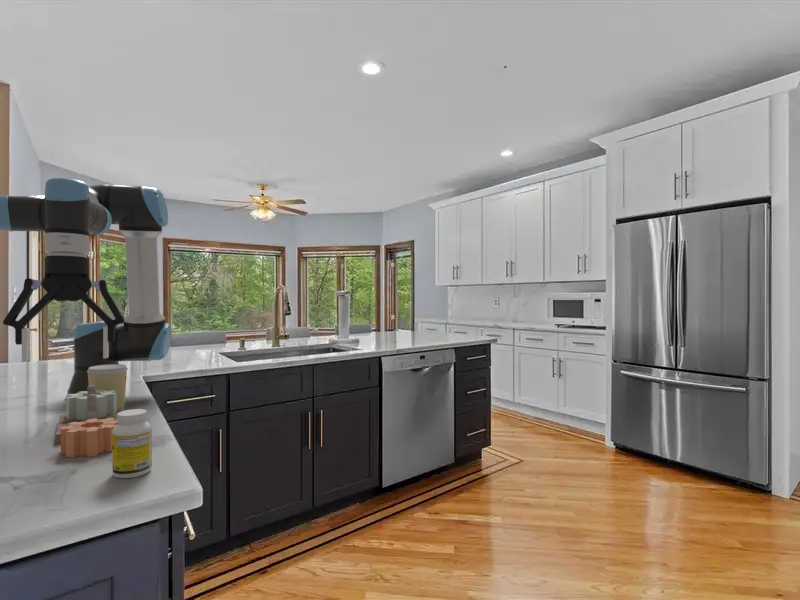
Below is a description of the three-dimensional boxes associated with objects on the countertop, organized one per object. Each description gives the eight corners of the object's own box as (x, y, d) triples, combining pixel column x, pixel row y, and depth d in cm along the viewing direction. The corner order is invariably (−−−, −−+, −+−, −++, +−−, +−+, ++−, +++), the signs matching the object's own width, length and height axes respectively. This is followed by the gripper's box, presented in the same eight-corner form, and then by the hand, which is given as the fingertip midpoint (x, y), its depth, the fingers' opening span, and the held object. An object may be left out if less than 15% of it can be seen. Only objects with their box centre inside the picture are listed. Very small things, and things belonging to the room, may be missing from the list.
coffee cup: (135, 408, 133) (135, 365, 133) (104, 416, 124) (104, 370, 124) (110, 405, 136) (110, 363, 136) (78, 413, 127) (78, 368, 127)
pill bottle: (122, 466, 89) (122, 407, 89) (157, 466, 89) (157, 407, 89) (105, 480, 83) (105, 416, 82) (142, 479, 83) (142, 416, 83)
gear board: (60, 422, 118) (60, 385, 118) (121, 415, 125) (121, 381, 125) (55, 443, 102) (55, 401, 101) (125, 434, 109) (126, 395, 109)
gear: (58, 415, 117) (58, 394, 117) (104, 406, 126) (104, 388, 126) (77, 422, 111) (77, 400, 111) (124, 412, 120) (124, 393, 120)
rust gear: (62, 445, 100) (62, 422, 100) (120, 437, 106) (120, 415, 106) (59, 461, 92) (59, 435, 91) (123, 451, 97) (123, 427, 97)
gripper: (-17, 251, 89) (-18, 365, 89) (136, 257, 100) (135, 358, 100) (-5, 254, 95) (-5, 360, 96) (137, 259, 107) (137, 354, 107)
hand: (67, 359), depth 98 cm, fingers open, 13 cm apart
